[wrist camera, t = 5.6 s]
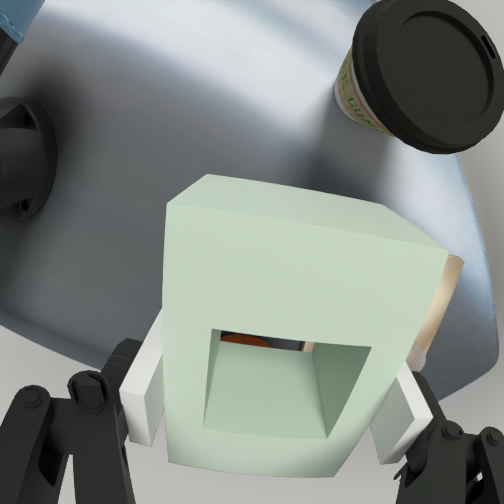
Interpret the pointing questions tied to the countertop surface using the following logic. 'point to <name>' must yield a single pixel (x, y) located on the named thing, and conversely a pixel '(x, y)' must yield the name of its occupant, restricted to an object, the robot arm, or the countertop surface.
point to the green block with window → (285, 322)
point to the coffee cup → (422, 75)
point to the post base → (427, 315)
